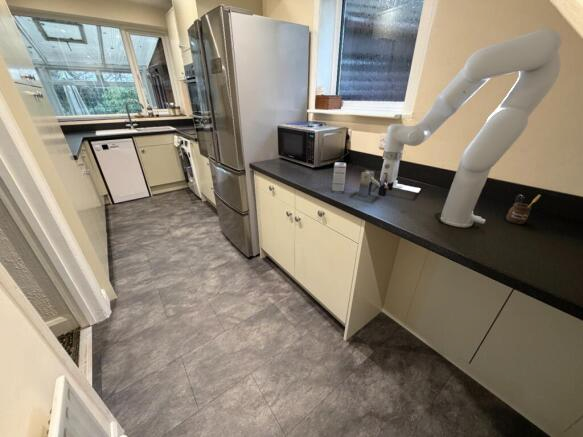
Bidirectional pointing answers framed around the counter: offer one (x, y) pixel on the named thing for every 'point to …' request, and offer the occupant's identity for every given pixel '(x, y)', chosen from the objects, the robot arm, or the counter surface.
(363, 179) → the bracket
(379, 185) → the lever
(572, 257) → the counter surface
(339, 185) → the syrup box
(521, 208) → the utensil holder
